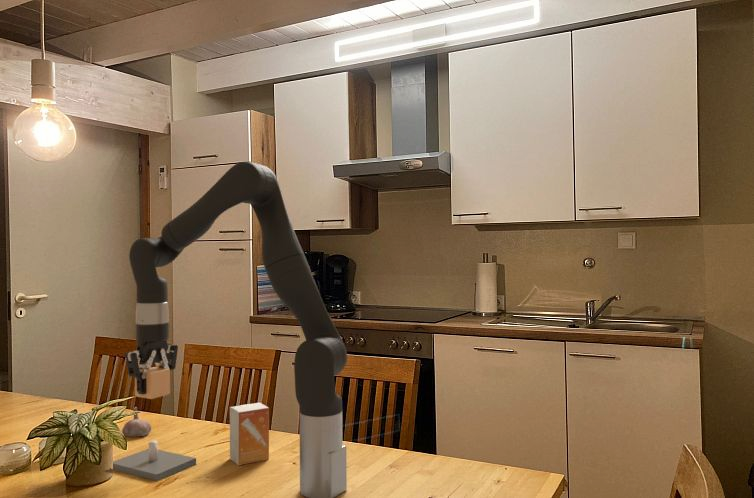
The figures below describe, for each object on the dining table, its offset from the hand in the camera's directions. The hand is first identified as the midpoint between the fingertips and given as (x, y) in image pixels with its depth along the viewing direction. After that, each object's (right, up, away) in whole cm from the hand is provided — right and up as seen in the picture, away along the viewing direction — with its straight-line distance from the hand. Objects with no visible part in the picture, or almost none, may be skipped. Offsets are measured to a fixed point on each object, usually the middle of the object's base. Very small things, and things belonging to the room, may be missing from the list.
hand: (152, 391), depth 147 cm
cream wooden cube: (0, -1, 0) cm, 1 cm away
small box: (+22, -18, +5) cm, 29 cm away
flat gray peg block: (0, -18, 0) cm, 18 cm away
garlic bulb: (-14, -18, +25) cm, 34 cm away
